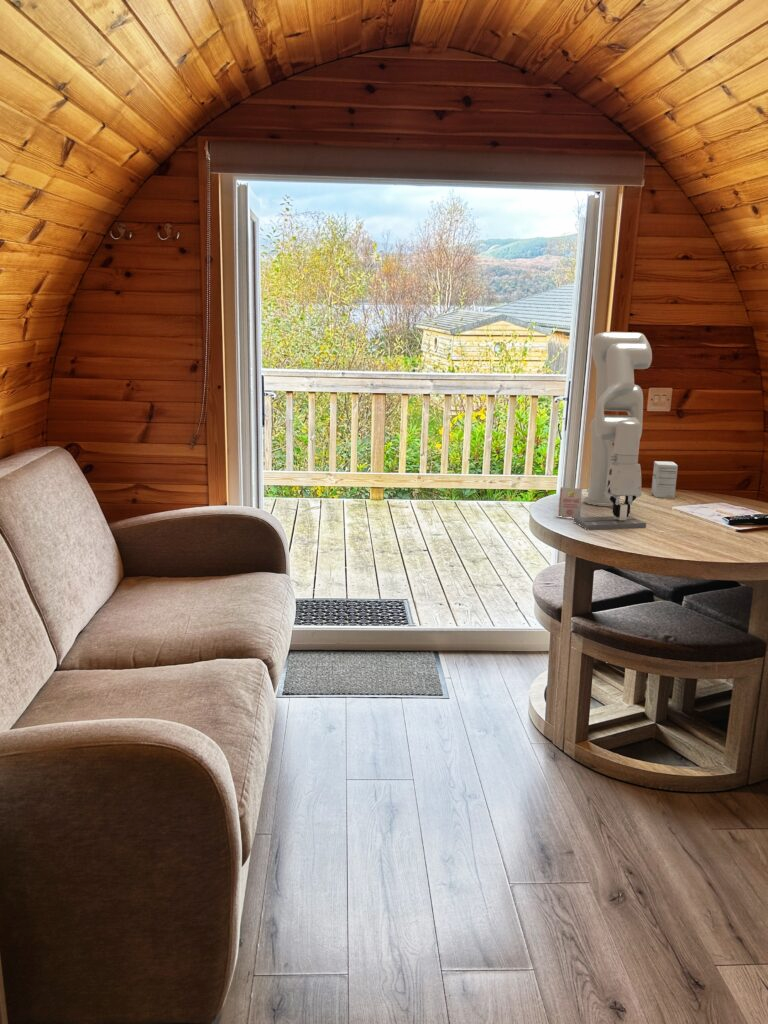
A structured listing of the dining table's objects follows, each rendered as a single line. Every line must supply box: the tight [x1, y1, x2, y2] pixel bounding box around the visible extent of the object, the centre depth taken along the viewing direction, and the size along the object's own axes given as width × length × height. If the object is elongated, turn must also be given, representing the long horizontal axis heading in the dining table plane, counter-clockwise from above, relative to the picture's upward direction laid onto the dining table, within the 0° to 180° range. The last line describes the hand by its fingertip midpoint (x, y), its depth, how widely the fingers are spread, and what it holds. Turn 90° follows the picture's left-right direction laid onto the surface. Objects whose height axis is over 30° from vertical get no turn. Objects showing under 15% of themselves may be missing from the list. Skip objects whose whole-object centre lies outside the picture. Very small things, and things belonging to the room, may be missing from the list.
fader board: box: [573, 515, 647, 530], centre depth 258 cm, size 10×20×2 cm, turn 102°
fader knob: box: [615, 502, 628, 520], centre depth 257 cm, size 3×2×5 cm
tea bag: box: [557, 486, 583, 518], centre depth 266 cm, size 4×7×10 cm, turn 73°
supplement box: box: [650, 460, 679, 499], centre depth 301 cm, size 7×7×13 cm
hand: (620, 515), depth 258 cm, fingers closed on fader knob, 2 cm apart
